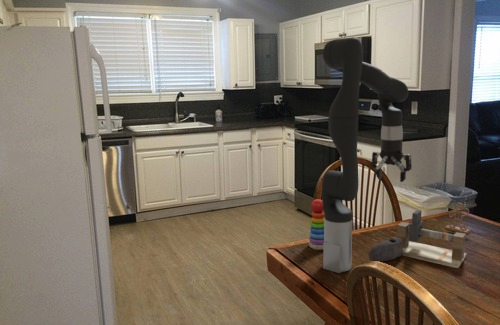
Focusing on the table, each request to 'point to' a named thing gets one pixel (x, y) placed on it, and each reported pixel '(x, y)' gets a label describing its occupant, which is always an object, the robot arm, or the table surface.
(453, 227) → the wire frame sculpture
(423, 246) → the pipe stand
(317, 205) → the stacking toy
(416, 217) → the collar
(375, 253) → the perforated stone tool
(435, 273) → the table surface
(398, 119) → the robot arm
